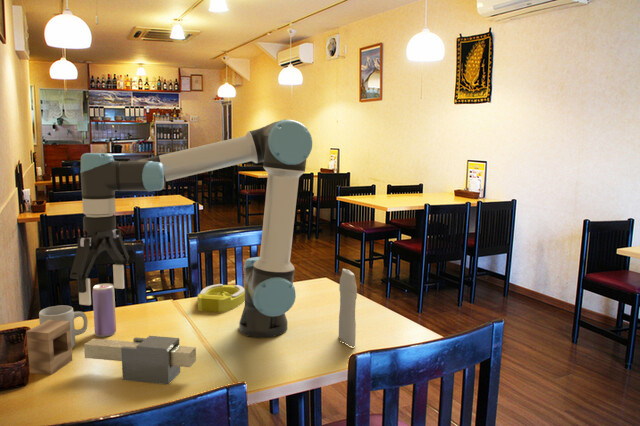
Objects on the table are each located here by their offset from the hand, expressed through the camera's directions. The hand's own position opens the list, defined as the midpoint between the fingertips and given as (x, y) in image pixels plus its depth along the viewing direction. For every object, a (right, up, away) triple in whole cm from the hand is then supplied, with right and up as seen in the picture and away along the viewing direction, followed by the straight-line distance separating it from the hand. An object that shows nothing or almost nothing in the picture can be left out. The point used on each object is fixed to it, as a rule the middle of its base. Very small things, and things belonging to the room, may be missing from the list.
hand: (103, 296), depth 123 cm
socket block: (-14, -18, +1) cm, 23 cm away
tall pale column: (+64, -17, +19) cm, 69 cm away
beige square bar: (+11, -15, -4) cm, 19 cm away
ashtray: (+20, -12, +52) cm, 57 cm away
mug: (-17, -17, +13) cm, 27 cm away
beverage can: (-9, -16, +22) cm, 29 cm away
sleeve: (+14, -20, -4) cm, 24 cm away
